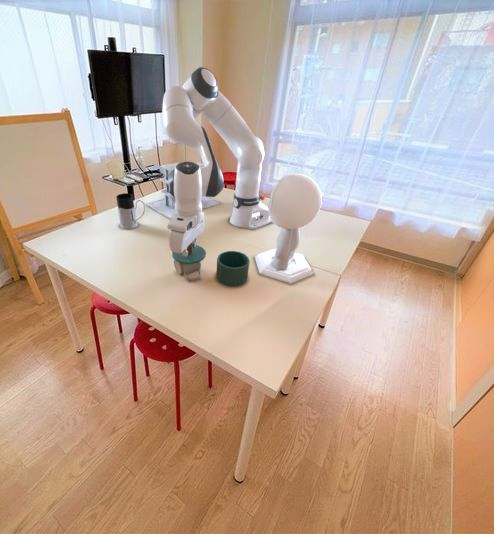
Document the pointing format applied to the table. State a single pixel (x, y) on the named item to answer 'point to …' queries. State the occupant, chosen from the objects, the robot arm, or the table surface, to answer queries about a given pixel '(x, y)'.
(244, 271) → the tin
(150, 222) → the table surface
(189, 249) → the lid
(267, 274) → the globe table lamp
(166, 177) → the file organizer
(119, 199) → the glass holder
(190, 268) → the ceramic mug
